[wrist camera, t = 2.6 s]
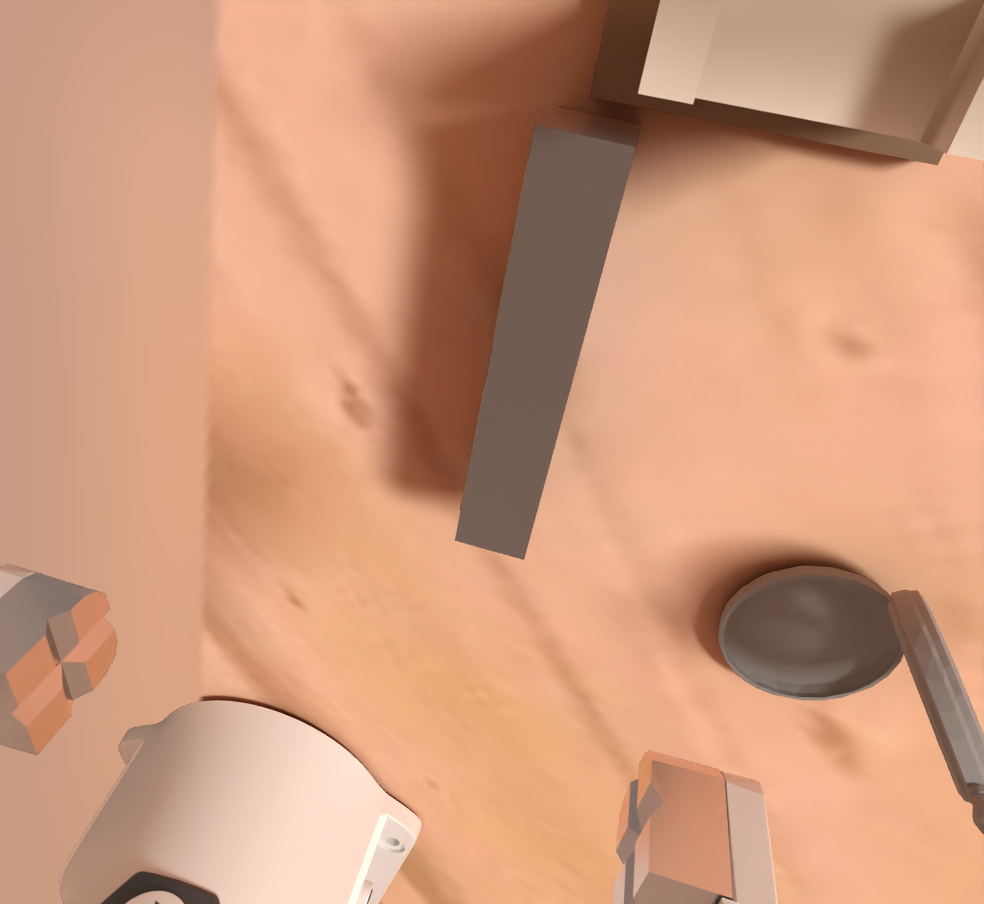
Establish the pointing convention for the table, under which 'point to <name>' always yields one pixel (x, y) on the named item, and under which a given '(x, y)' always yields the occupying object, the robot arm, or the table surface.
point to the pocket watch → (852, 653)
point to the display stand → (807, 69)
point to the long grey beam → (542, 319)
